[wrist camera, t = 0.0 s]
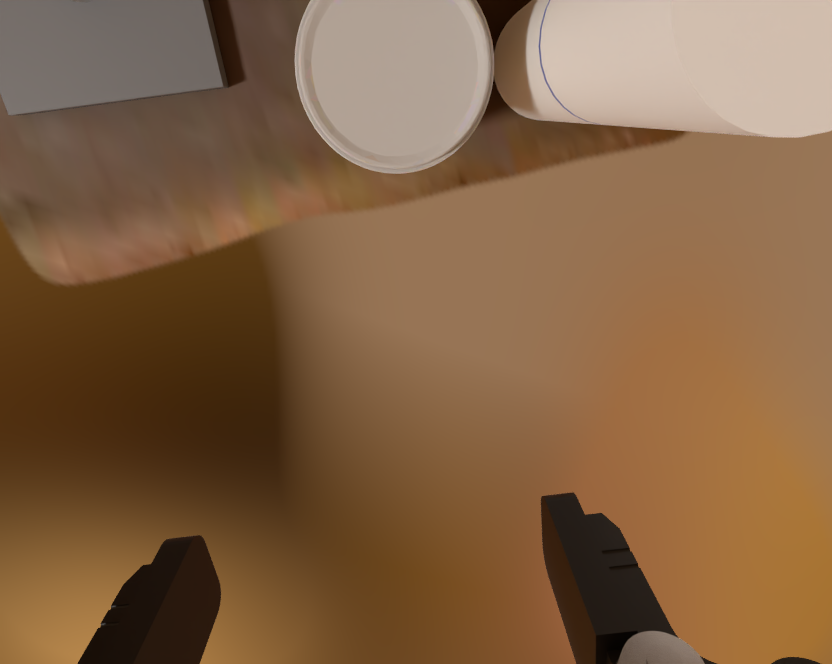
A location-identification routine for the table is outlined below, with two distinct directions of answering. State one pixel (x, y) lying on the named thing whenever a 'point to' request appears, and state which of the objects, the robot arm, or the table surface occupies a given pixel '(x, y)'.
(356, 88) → the coffee cup
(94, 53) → the base
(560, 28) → the cylindrical container
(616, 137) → the table surface
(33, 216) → the table surface
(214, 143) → the table surface
